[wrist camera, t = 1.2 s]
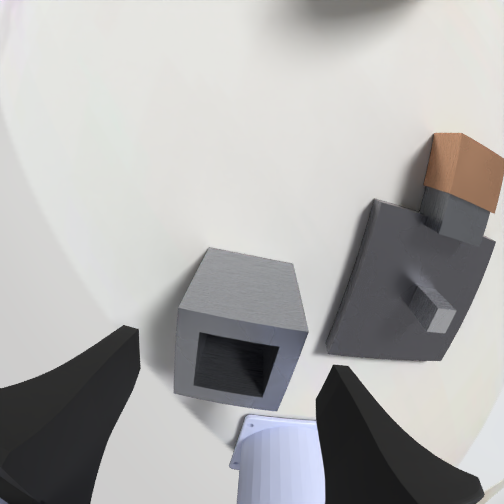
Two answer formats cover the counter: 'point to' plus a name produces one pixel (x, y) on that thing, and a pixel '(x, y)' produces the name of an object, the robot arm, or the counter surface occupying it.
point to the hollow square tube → (239, 331)
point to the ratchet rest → (422, 260)
